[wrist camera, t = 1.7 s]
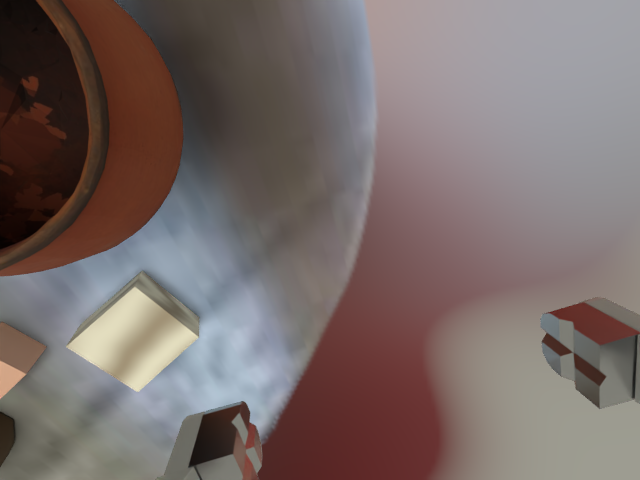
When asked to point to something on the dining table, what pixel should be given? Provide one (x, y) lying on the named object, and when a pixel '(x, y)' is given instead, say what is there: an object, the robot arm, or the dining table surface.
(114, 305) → the birch block
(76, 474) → the dining table surface
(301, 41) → the dining table surface
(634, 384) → the robot arm
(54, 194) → the goblet
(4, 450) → the beer bottle
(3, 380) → the terracotta cube
